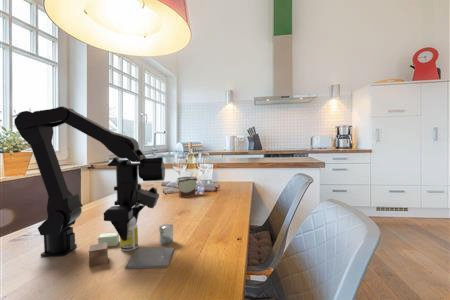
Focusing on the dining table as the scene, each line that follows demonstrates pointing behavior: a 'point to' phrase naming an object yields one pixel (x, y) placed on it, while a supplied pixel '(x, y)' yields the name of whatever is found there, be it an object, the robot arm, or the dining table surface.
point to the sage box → (109, 239)
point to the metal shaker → (166, 234)
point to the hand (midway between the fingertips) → (128, 235)
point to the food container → (186, 186)
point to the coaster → (150, 258)
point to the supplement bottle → (130, 237)
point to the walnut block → (98, 254)
